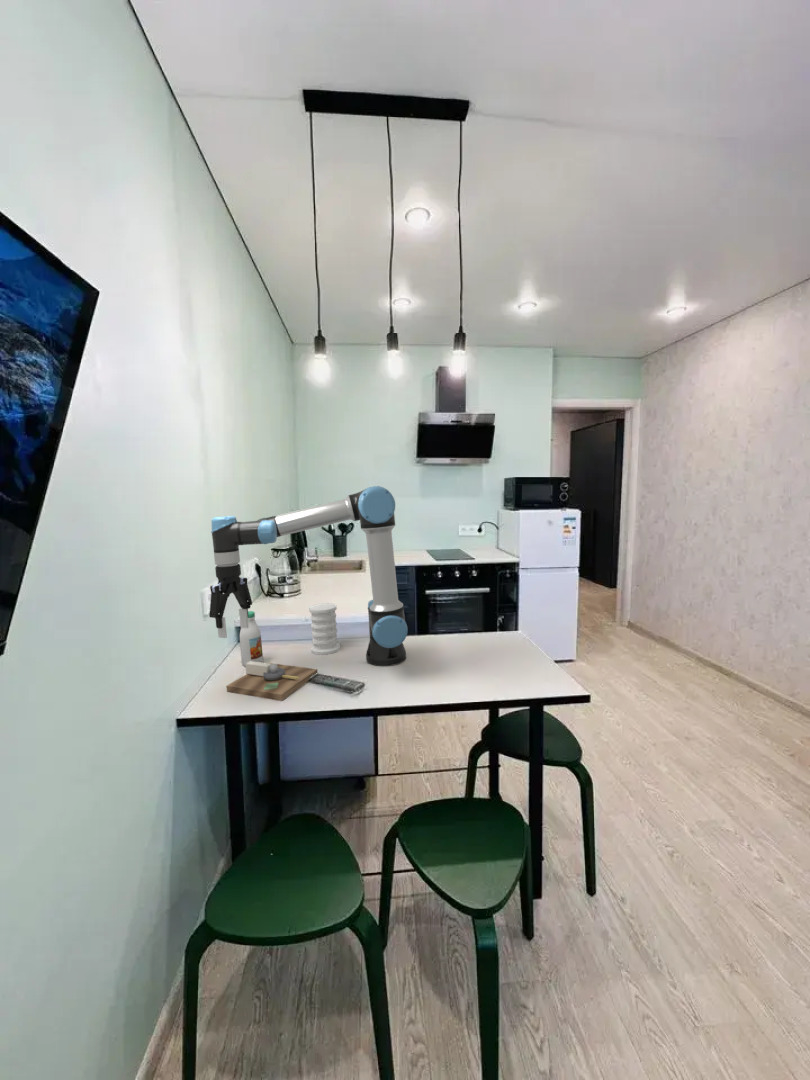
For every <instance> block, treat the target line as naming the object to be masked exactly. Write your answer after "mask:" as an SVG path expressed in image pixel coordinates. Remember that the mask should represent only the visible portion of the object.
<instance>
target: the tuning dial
mask: <svg viewBox="0 0 810 1080" xmlns="http://www.w3.org/2000/svg"><path fill="white" fill-rule="evenodd" d="M269 663H270V662H262V663H261V662H253V661H250V662H248V663H246V667H245V672H246V673H245V675H246V674H252V675H259V676H264V679H265V680H278V679H280V678H290V679H299V678H298V677H296V676H289V675H285V670H284V669H283V668H278V667H277V664H278V663H273V664H272V665H271V664H269Z"/></svg>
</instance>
